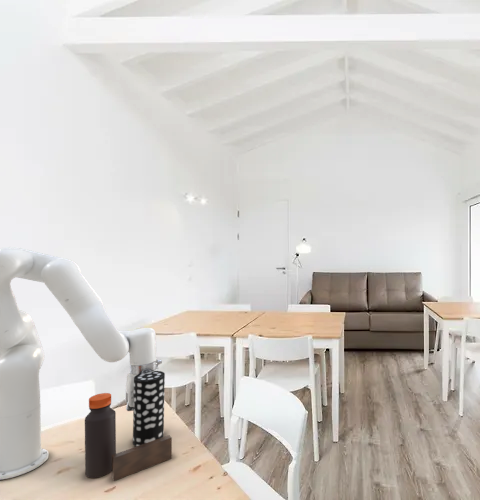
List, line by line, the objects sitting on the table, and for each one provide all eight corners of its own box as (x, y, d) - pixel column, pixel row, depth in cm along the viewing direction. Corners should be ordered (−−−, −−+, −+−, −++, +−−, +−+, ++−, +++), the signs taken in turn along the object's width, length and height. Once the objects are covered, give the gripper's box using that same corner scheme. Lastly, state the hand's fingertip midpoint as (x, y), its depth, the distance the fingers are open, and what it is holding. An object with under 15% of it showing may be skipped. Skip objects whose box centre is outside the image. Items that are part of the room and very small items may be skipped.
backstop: (113, 481, 91) (113, 458, 90) (111, 477, 92) (111, 454, 92) (171, 458, 100) (171, 437, 100) (169, 455, 102) (169, 434, 102)
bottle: (113, 474, 93) (112, 399, 93) (81, 481, 91) (80, 404, 90) (118, 460, 99) (117, 389, 99) (89, 466, 97) (88, 393, 97)
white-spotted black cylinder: (150, 448, 105) (151, 382, 104) (126, 445, 107) (127, 379, 106) (169, 434, 113) (170, 372, 113) (146, 430, 115) (147, 369, 114)
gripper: (164, 358, 122) (167, 411, 122) (113, 371, 111) (116, 428, 112) (172, 363, 116) (174, 418, 117) (119, 377, 106) (122, 437, 106)
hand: (146, 423), depth 114 cm, fingers closed
